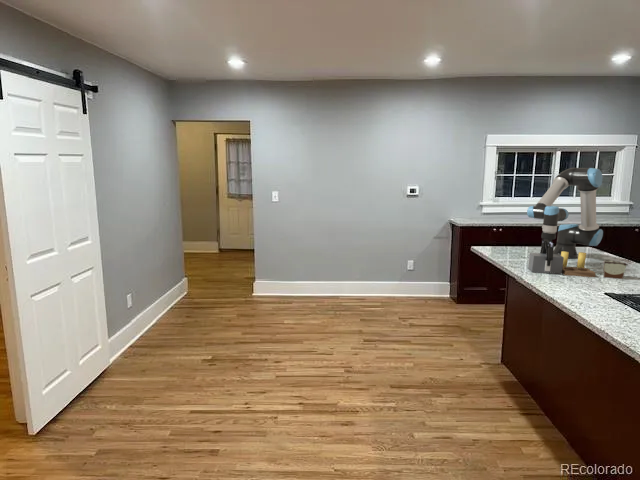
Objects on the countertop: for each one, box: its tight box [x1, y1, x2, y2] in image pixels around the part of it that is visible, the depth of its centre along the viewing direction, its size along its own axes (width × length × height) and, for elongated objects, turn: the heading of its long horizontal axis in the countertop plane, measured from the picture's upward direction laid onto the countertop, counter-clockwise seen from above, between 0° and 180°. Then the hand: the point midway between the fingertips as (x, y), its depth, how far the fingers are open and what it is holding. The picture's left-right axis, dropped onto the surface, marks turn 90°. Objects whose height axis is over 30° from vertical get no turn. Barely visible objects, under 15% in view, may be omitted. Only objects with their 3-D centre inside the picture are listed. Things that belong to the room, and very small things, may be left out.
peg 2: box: [576, 251, 587, 268], centre depth 265 cm, size 4×4×10 cm
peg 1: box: [561, 251, 569, 267], centre depth 267 cm, size 4×4×10 cm
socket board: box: [561, 266, 596, 278], centre depth 253 cm, size 12×16×2 cm
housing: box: [527, 252, 564, 275], centre depth 256 cm, size 8×16×10 cm, turn 79°
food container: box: [602, 258, 629, 280], centre depth 246 cm, size 12×6×10 cm, turn 71°
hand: (544, 269), depth 256 cm, fingers closed on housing, 8 cm apart
